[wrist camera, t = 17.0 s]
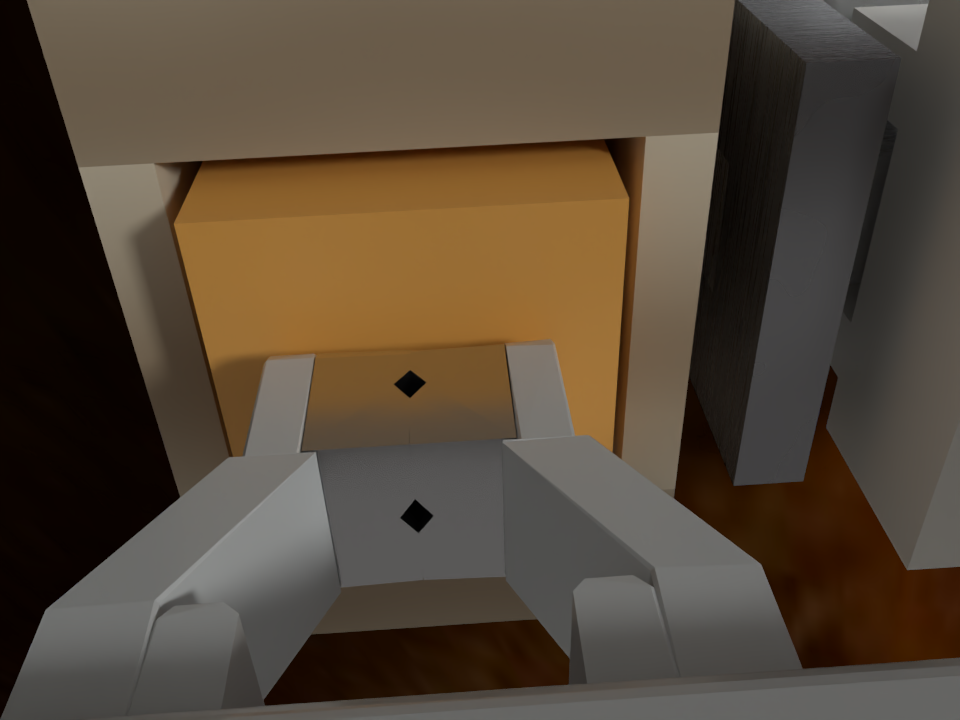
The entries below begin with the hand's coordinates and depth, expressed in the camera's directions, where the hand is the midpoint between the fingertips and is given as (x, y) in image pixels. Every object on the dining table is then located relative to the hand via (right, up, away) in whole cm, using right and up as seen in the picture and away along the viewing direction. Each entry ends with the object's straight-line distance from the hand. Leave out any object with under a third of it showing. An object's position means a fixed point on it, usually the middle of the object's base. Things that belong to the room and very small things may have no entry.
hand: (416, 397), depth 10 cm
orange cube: (0, +2, +3) cm, 4 cm away
